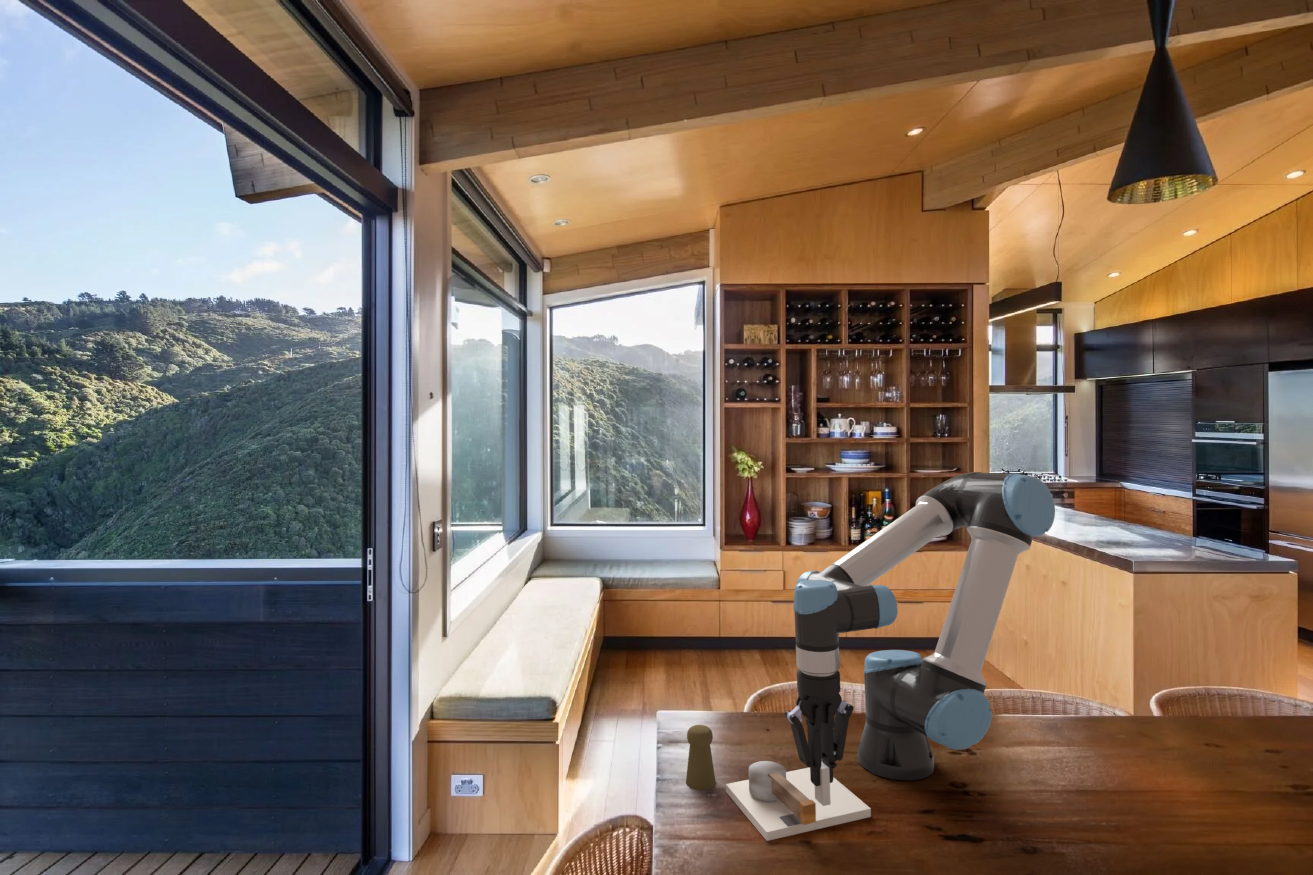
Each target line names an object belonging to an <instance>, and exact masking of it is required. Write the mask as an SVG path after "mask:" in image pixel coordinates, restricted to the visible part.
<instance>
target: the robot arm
mask: <svg viewBox="0 0 1313 875" xmlns="http://www.w3.org/2000/svg"><path fill="white" fill-rule="evenodd" d="M1054 500H1055V499H1054V498H1053V496H1052V494H1051V490H1050V489H1049V487H1048V486H1047V485H1046V484H1045V482H1043V481H1042V480H1041V479H1040V478H1038V477H1035V476H1033V475H1025V474H1021V473H1018V472H1017V473H1015V472H1013V473H998V472H981V471H970V472H967V473H966V472H965V473H961V474H959V475H956V476H953V477H950V478H949V479H947V480H945V481H943V482H942V483H939V484H938V485H936V486H934V487H932V488H931V489H930V490H928V491H926V492H925V493H923V494H922V495H921V496H919V497H918V498H917V499H916V501H915V506H914V507H912V508H911V509H909V510H908V511H907V512H904V514H902V515H901V516H899V517H897V518H896V519H895V520H893V522H891V523H889V524H887V525H886V526H885V527H884V528H882V529H881V530H879V531H878V532H876V533H875V534H873V535H872V536H871V537H869V538H868V539H866V540H865V541H863V542H862V543H860V544H859V545H858V546H855V547H854V548H853V549H852V550H850V551H849V552H847V553H846V554H844V555H843V556H842V557H840V558H839V559H837V560H836V561H834V562H833V563H832V564H830V565H829V566H827V567H826V568H824V569H823V570H821V571H818V570H810V571H805V572H804V573H801V575H800V576H799V578H797V581H796V584H795V586H794V592H793V594H794V595H793V611H794V612H793V614H794V629H795V630H794V631H795V633H794V634H795V635H794V636H795V656H796V658H795V659H796V660H795V661H796V662H795V663H796V668H797V669H796V687H797V688H796V689H797V694H798V696H797V700H796V703H795V704H796V706H795V707H794V708H793V709H791V710H786V711H785V712H784V717H785V718H786V719H787V721H788V722H789V723H790V729H791V732H792V735H793V739H794V744H795V748H796V751H797V755H798V758H799V759H798V760H799V761H800V762H801V763H802V764H804V765H805V767H806V768H809V767H810V774H811V775H810V776H811V777H810V778H811V782H812V783H813V784H814V785H815V799H816V800H817V801H818V802H819V803H820V804H821V805H823V806H826V805H830V804H831V802H830V783H832V782H833V777H834V769H835V768H837V763H836V762H837V761H838V762H840V761H842V760H843V758H844V753H845V745H846V741H847V733H848V728H849V721H850V718H851V716H852V714H853V712H854V708H855V707H854V706H853V705H852V704H851V703H849V702H847V701H845V700H843V699H842V696H841V694H840V692H841V673H840V666H841V664H840V663H841V661H840V659H841V658H840V647H839V646H840V642H839V641H840V634H846V633H850V632H858V631H865V630H873V629H876V630H877V629H880V628H883V627H888V626H890V625H892V624H893V623H894V622H896V620H897V617H898V601H897V598H896V596H895V594H894V591H892V590H891V589H890V588H889V587H888V586H886V585H883V584H875V585H874V584H873V582H875V581H877V580H878V579H879V578H881V577H882V576H884V575H885V574H887V572H889V571H891V570H892V569H894V568H895V567H896V566H898V565H899V564H900V563H902V562H904V561H905V560H906V559H907V558H908V557H910V556H911V555H913V554H914V553H915V552H917V551H919V550H920V549H921V548H923V547H925V545H927V544H928V543H930V542H931V541H933V540H934V539H935V538H936V537H938V536H947V535H949V534H951V533H952V532H954V531H955V530H957V529H961V528H966V531H967V532H968V534H969V536H970V538H971V540H970V544H969V546H968V550H967V552H966V556H965V558H964V562H963V566H962V568H961V572H960V574H959V577H958V580H957V583H956V586H955V589H954V592H953V596H952V598H951V601H950V603H949V604H950V605H949V607H948V611H947V614H946V616H945V620H944V623H943V625H942V629H941V632H940V635H939V638H938V641H937V644H936V646H935V650H934V652H933V653H932V654H930V655H928V656H925V657H923V655H922V654H920V653H918V652H915V651H911V650H904V649H888V650H887V649H885V650H877V651H873V652H871V653H869V654H867V656H866V657H865V658H864V667H863V668H864V670H863V675H864V676H863V678H864V680H863V681H864V702H865V704H864V705H865V707H864V710H865V724H864V727H863V730H862V734H861V738H860V742H859V744H858V746H857V761H858V762H859V765H861V766H862V767H863V768H864V769H865V770H867V771H868V772H870V773H872V774H874V775H877V776H879V777H883V778H886V779H891V780H897V781H917V780H922V779H925V778H927V777H930V776H931V775H932V774H933V773H934V770H935V757H934V753H933V750H932V748H931V745H930V742H929V740H931V742H934V743H935V744H936V743H937V744H938V745H942V746H943V747H946V748H948V749H952V750H957V751H960V750H961V751H962V750H967V749H968V748H971V747H972V746H973V745H974V746H975V745H977V744H978V743H979V742H980V741H981V740H982V739H983V738H984V737H985V736H986V734H987V732H988V731H989V728H990V726H991V723H992V718H993V714H992V713H993V712H992V710H991V709H990V708H991V703H990V701H989V699H988V698H987V697H986V696H985V690H986V689H987V688H986V687H987V681H985V678H984V676H983V675H982V674H983V673H982V669H983V666H984V663H985V660H986V657H987V654H988V650H989V648H990V646H991V645H990V644H991V641H992V638H993V636H994V632H995V628H996V626H997V623H998V619H999V616H1000V613H1001V609H1002V607H1003V605H1004V601H1005V597H1006V594H1007V590H1008V588H1009V585H1010V583H1011V579H1012V575H1013V572H1014V568H1015V566H1016V563H1017V559H1018V557H1019V555H1020V554H1022V553H1023V552H1026V551H1028V550H1030V549H1031V545H1032V542H1033V539H1034V538H1037V537H1039V536H1040V537H1041V536H1043V535H1045V534H1046V532H1049V531H1050V529H1051V527H1052V526H1053V524H1054V522H1055V517H1056V505H1055V501H1054ZM802 715H803V716H802ZM802 717H804V718H805V724H806V729H807V731H806V732H807V735H806V733H805V728H804V726H803V724H802V723H803V718H802ZM928 738H929V739H928Z"/></svg>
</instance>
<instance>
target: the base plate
mask: <svg viewBox="0 0 1313 875" xmlns="http://www.w3.org/2000/svg"><path fill="white" fill-rule="evenodd" d="M810 775H811V774H810V767H805V768H800V769H795V770H790V771H786V779H787V780H788V781H789V782H790V783H791V784H792V785H794V786H795V787H796V788H797V789H798V790H799V791H800V792H802V793H803V794H804V795H805V796H806V797H807V798H808V799H809V800H813V801H814V802H815V803H816V822H814V823H810V824H806V825H803V824H802V823H801V822H800V819H799V818H798V817H797V816H796V815H795V814H794V813H793V812H792V811H790V810H789V809H788V808H787V807H786V806H785V805H784V804H783V803H782V802H781V801H780V800H776V801H764V800H760V799H757V798H755V797H753V796H752V795H751V794H750V792H749V779H743V780H741V781H735V782H730V783H726V784H725V792H726V794H727V795H728V796H729V797H730V799H731V800H732V801H733V802H734V804H736V806H737V807H738V808H739V809H740V810H741V812H742V813H743V814H744V815H745V816H746V818H747V819H748V821H750V823H752V825H753V826H754V827H755V829H756V830H757V831H758V832H759V833H760V835H761V836H762V837H763V838H764V839H765V841H767V842H768V841H772V840H777V839H781V838H785V837H790V836H794V835H799V834H802V833H807V832H811V831H816V830H820V829H824V828H828V827H833V826H838V825H841V824H846V823H851V822H854V821H859V820H863V819H867V818H871V817H872V808H871V807H869V806H868V804H866V803H865V802H863V800H861V799H860V798H859V797H857V795H855V794H854V793H853V792H852V791H851V790H850V789H848V788H847V787H846V786H845V785H844V784H842V783H841V782H840V781H839V780H837V779H836V778H835V777H834V776H833V782H832V783H830V802H831V804H830V805H826V806H823V805H821V804H820V803H819V802H818V801H817V800H816V799H815V785H814V784H813V783H812V782H811V778H810V777H811V776H810Z"/></svg>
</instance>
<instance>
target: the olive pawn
mask: <svg viewBox="0 0 1313 875" xmlns="http://www.w3.org/2000/svg"><path fill="white" fill-rule="evenodd" d="M713 738H714V736H713V730H712V729H711V728H710V727H708V726H707V725H705V724H694V725H692V726H690V727H689V728H688V730H687V732H686V739H687V743H688V744H689V749H688V750H689V751H688V759H687V769H686V777H685V785H686V786H687V787H689V788H691V789H693V790H695V791H696V790H697V791H705V790H710V789H712V788H713V787H714V786H715V785H716V783H717V780H716V775H715V769H714V762H713V754H712V748H711V744H712V742H713Z"/></svg>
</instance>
